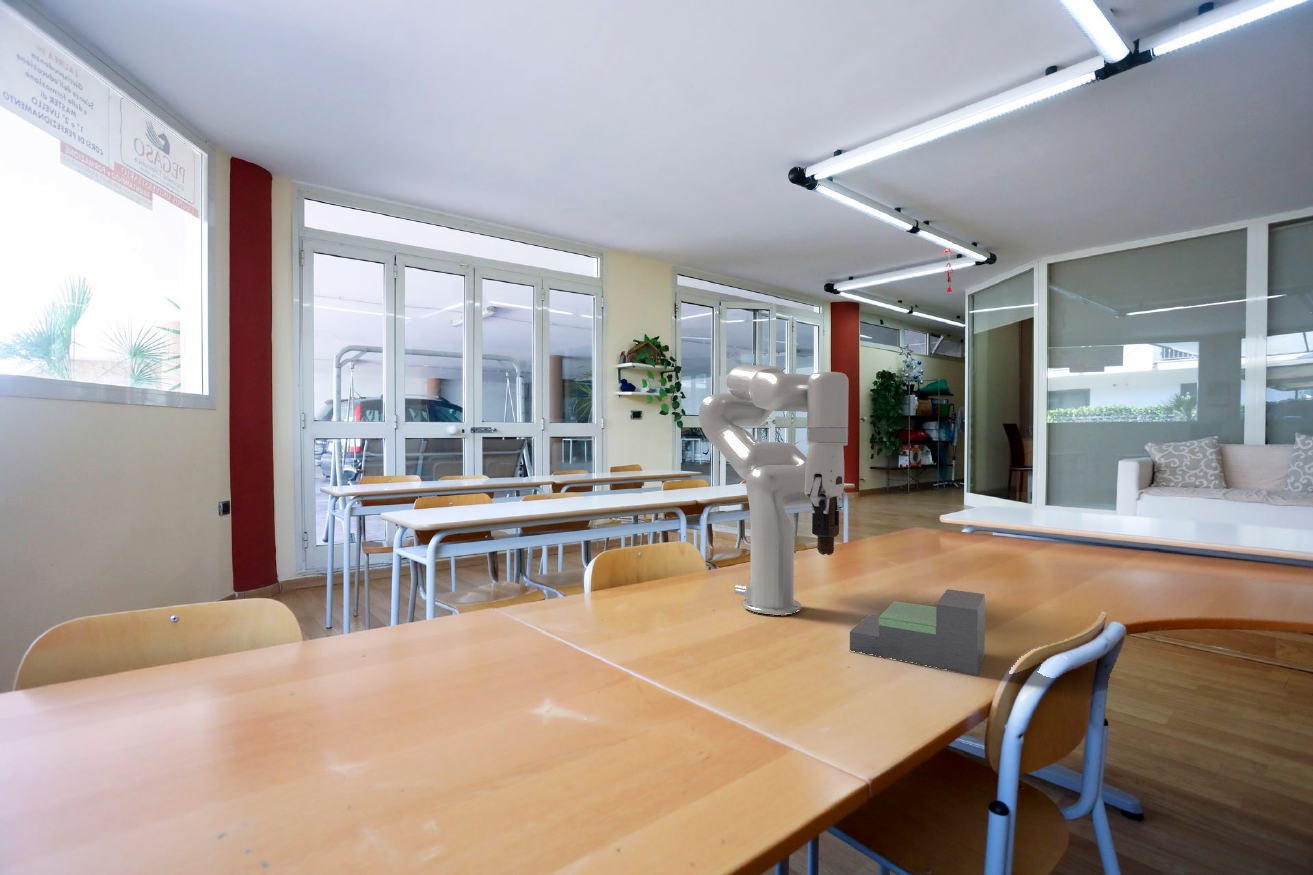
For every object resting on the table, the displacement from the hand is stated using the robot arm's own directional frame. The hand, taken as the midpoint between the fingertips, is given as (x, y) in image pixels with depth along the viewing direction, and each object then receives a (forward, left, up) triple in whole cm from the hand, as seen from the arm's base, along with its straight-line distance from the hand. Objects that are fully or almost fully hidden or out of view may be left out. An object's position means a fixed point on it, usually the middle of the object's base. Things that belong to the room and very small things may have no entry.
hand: (825, 531), depth 116 cm
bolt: (0, 0, -4) cm, 4 cm away
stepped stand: (+16, 0, -20) cm, 26 cm away
